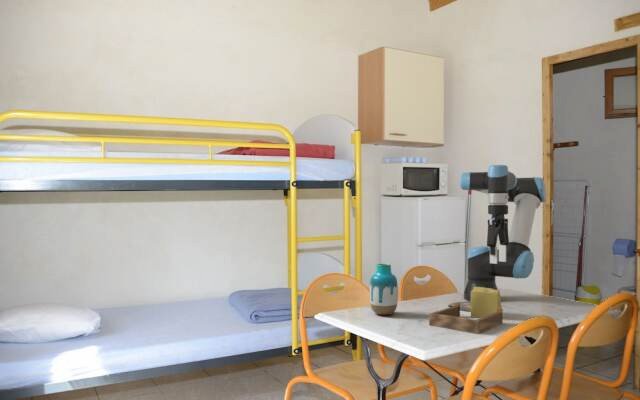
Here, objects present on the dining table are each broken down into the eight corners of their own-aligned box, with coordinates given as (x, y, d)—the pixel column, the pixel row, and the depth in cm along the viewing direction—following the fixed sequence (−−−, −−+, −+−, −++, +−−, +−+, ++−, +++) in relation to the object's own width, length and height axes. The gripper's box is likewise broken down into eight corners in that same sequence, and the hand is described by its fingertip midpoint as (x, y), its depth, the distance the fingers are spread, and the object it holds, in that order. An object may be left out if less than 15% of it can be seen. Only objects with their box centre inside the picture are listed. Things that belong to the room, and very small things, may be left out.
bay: (429, 325, 187) (429, 310, 187) (456, 315, 201) (456, 302, 201) (477, 333, 175) (477, 317, 175) (502, 323, 189) (502, 308, 189)
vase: (378, 310, 211) (378, 262, 211) (402, 313, 205) (402, 264, 205) (364, 315, 203) (364, 264, 203) (389, 318, 197) (389, 266, 197)
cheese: (501, 314, 204) (501, 288, 204) (498, 320, 195) (498, 292, 194) (473, 311, 209) (473, 286, 209) (469, 317, 199) (469, 290, 199)
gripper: (496, 204, 200) (496, 265, 200) (517, 204, 215) (517, 260, 215) (477, 204, 205) (477, 264, 205) (499, 204, 220) (499, 259, 220)
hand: (498, 262), depth 210 cm, fingers open, 8 cm apart
